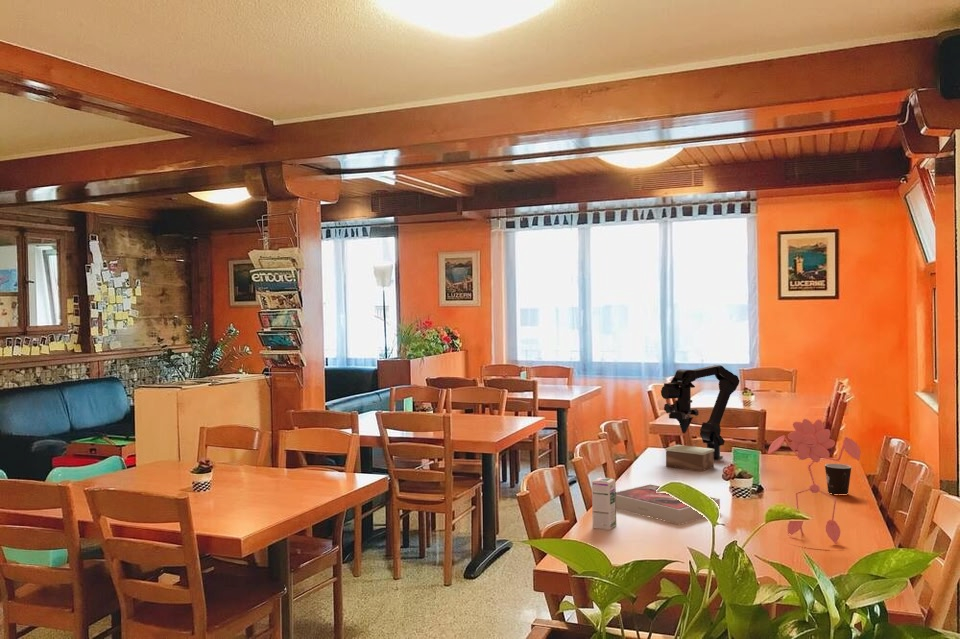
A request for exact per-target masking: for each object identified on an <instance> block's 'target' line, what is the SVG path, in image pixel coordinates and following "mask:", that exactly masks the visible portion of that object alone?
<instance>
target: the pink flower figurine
mask: <svg viewBox="0 0 960 639" xmlns="http://www.w3.org/2000/svg"><path fill="white" fill-rule="evenodd" d="M792 427H793V428H794V430H793V431H791V432H789V433H788V434H787V438H788V439H789V440H791V442H790V441H788V439H787V438H786V435H784V434H783V435H781V436H779V437H777V438H776V439H775V440H774V441H772V443H771V444H770V446H769V447H768V451H767V454H768V455H771V454H773V453H775V452H776V451H778V450H779V449H780V448H781V446H782V445H783V444H784V442H786V443H787V445H788V446H789V449H790V450H792V452H793V453H794V454H795V456H796V457H797V458H798V459H799V460H801V461H805V460H806V459H810V460H812V461H811V462H810V463H809V464H808V465H807V469H808V471H809V474H810V477H811V481H812V483H811V484H809V488H808V489H804V490H800V491H797V492H796V493H795V500H796V510H797V509H798V510H799V500H798V499H799V498H798V494H801V493H804V492H805V493H806V492H808V491H810V492H811V493H812V494H817V493H822V494H823V495H825V496H827V497H829V498H831V499H833V501H834V502H833V508H832V509H833V510H832V516H831V519H828V521H826V524H825V532H826V534H827V537H828V538H829V539H830V540H831V541H832V542H833V543H834V544H836V543H837V542H838V541H839V539H840V536H841V529H840V526H839V525H838V523H837V521H835V520H834V519H835V518H834V517H835V510H836V503H837V499H836V497H834V496H833V495H831V494H829V493H826V492H824V491H822V490H820V486H819V484H817V483H815V480H814V479H815V478H814V476H813V471H812V469H811V466H813V464H814V463H819V462H820V461H821V458H822V459H826V460H829V461H836V462H840V461H841V458H842V455H843V453H844V451H845V452H846V453H847V454H848V455H849V456H850V457H851V458H853V459H855V460H857V461H860V458H861V448H860V445H859V444H858V443H857V442H856V441H855V440H854V439H852V438H850V437H847V436H844V440H843V441H842V443H843V444H842V445H841V450H840V452H839V456H838V458H832V457H830V451H829V449H832V448H833V447H835V445H836V441H835V440H834V439H833V438H832V439H831V438H830V436H831V430H830V429H829V428H825V426H824V423H823V421H822V419H817V420H815V421H814V422H812V421H811V420H809V419H808V418H807V419H806V418H803V419H802V422H801V421H794V422H793V423H792ZM803 523H804V520H803V521H790V520H789V521H788V523H787V533H788V534H791V535H790V536H792V535H794V534H796V533H797V532H799V531H800V534H804V531H803ZM788 534H787V535H788ZM803 547H804V546H803ZM803 549H807V550H808V549H810V550H813V548H811V547H807V546H806V547H804V548H803ZM815 550H817V551H818V550H819V551H822V549H820V548H819V549H818V548H815ZM824 551H825V552H830V549H824Z"/></svg>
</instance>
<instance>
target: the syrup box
mask: <svg viewBox="0 0 960 639" xmlns="http://www.w3.org/2000/svg"><path fill="white" fill-rule="evenodd" d="M616 486H617V484H616V479H615V478H611V477H597V478H595V479H594V480H592V481H591V503H592V504H591V507H592V528H594V529H598V530H606V531H611V530H612V529H613V528H615V527H616V526H617V509H616V492H617V491H616V490H617V489H616Z"/></svg>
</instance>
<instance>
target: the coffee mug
mask: <svg viewBox="0 0 960 639" xmlns="http://www.w3.org/2000/svg"><path fill="white" fill-rule="evenodd" d="M824 468H825V478H826V479H825V480H826V485H827V492H829V493H832V494H847V493H848V494H849V489H850V482H851V481H850V480H851V473H852V466H851V465H848V464H842V463H826V464H824ZM829 493H828V494H829Z"/></svg>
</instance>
